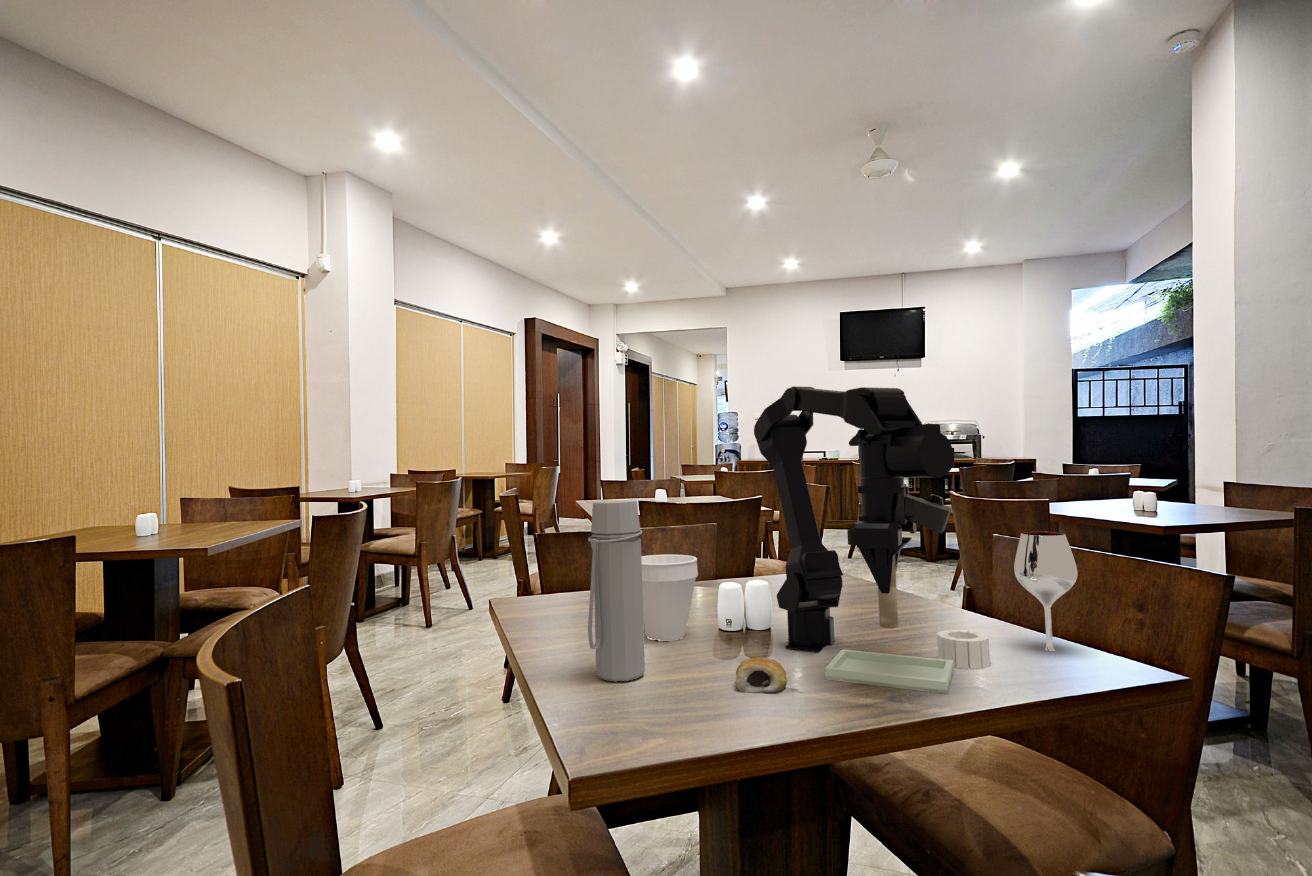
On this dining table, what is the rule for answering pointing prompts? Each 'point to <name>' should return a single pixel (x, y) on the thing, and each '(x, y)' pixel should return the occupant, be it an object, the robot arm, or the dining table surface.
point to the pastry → (760, 675)
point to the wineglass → (1045, 570)
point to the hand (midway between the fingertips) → (887, 591)
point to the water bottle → (617, 591)
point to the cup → (667, 594)
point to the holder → (964, 648)
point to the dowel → (889, 604)
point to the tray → (891, 671)
